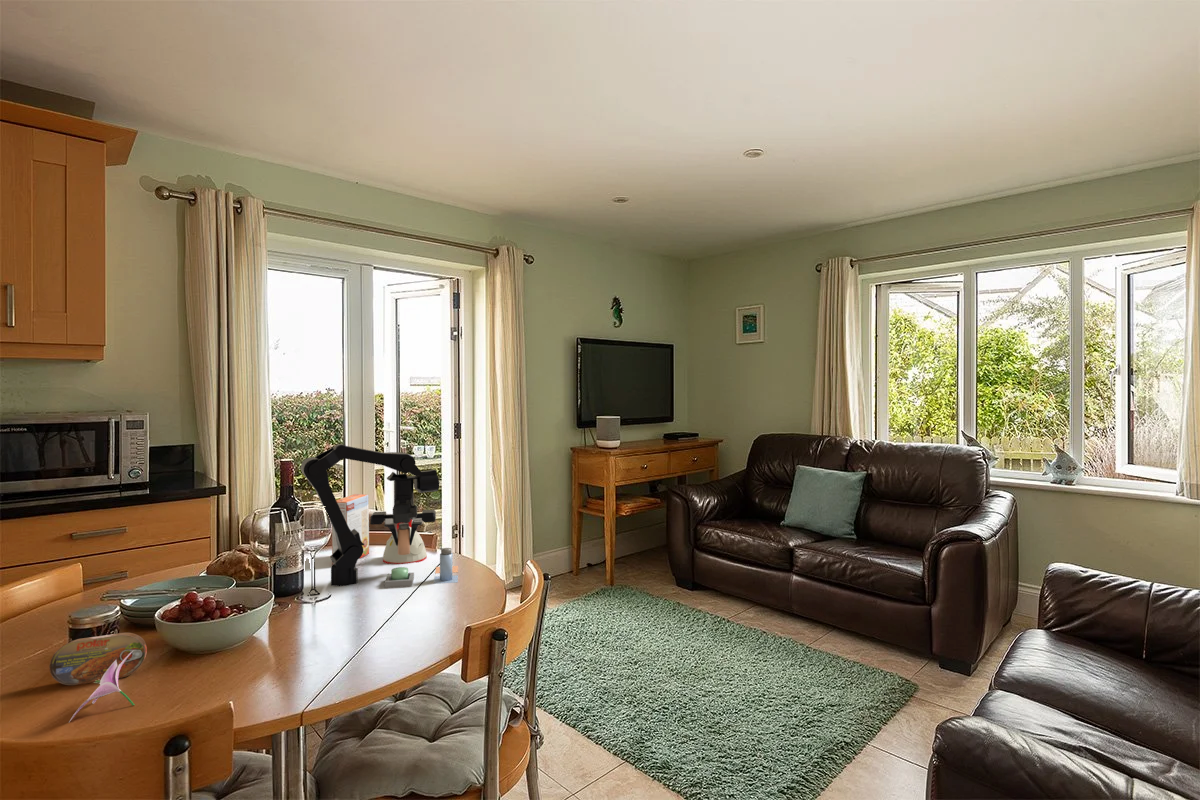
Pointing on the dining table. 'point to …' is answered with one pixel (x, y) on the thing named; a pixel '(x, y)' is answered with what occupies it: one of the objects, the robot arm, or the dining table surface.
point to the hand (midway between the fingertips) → (403, 545)
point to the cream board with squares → (409, 581)
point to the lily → (107, 684)
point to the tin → (97, 658)
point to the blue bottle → (446, 564)
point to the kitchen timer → (415, 554)
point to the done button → (399, 573)
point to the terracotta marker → (403, 539)
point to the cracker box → (355, 519)
